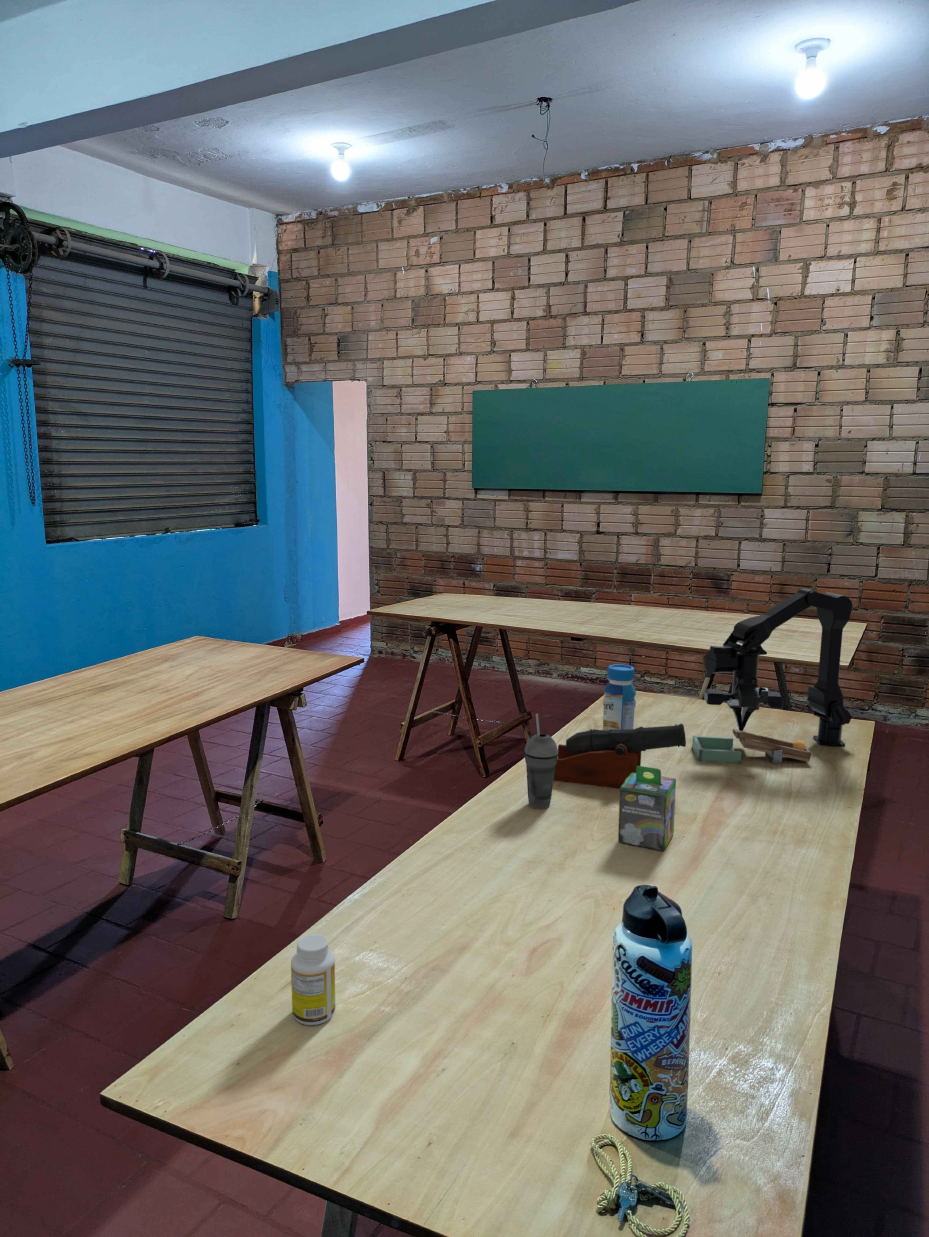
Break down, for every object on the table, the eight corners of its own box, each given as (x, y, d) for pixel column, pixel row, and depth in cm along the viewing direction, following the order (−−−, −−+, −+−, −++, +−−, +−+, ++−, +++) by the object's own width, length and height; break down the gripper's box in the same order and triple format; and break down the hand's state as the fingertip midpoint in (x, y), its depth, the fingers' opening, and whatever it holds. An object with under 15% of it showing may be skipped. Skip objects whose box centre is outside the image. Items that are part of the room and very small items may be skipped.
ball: (790, 749, 212) (792, 737, 211) (802, 751, 212) (805, 739, 211) (793, 753, 209) (795, 741, 209) (805, 755, 209) (808, 743, 208)
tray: (692, 747, 219) (692, 735, 218) (731, 749, 218) (732, 738, 217) (698, 761, 208) (699, 749, 208) (740, 763, 207) (741, 752, 207)
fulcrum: (765, 752, 216) (766, 739, 215) (773, 753, 215) (774, 740, 215) (772, 763, 208) (774, 750, 207) (781, 764, 207) (782, 750, 207)
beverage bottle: (636, 746, 218) (640, 671, 215) (603, 746, 218) (607, 670, 215) (630, 736, 227) (634, 663, 223) (598, 735, 227) (602, 662, 223)
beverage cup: (554, 813, 176) (558, 720, 172) (519, 809, 177) (522, 717, 173) (558, 800, 183) (561, 710, 179) (524, 796, 184) (527, 708, 180)
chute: (732, 732, 221) (734, 723, 220) (796, 746, 219) (798, 737, 219) (741, 747, 209) (744, 738, 208) (809, 761, 208) (811, 753, 207)
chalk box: (674, 833, 167) (678, 762, 164) (664, 852, 159) (669, 777, 156) (627, 824, 171) (631, 754, 168) (615, 842, 162) (619, 769, 160)
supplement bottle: (316, 995, 114) (315, 925, 113) (344, 1012, 111) (343, 941, 109) (283, 1014, 110) (281, 943, 108) (310, 1033, 107) (309, 959, 105)
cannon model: (681, 799, 185) (685, 733, 182) (548, 782, 193) (550, 718, 190) (684, 779, 197) (688, 716, 194) (558, 763, 205) (561, 703, 202)
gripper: (713, 677, 208) (708, 738, 211) (791, 681, 206) (786, 742, 209) (705, 667, 219) (701, 725, 222) (780, 670, 217) (775, 728, 220)
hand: (740, 730), depth 218 cm, fingers closed
